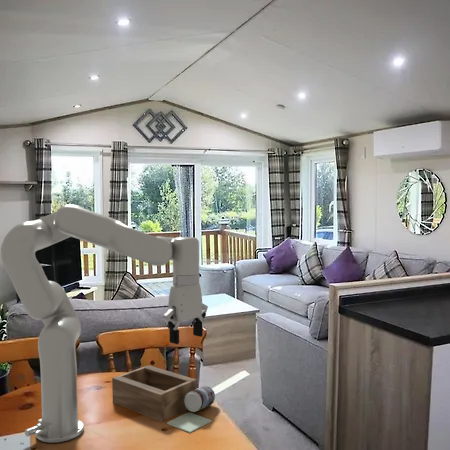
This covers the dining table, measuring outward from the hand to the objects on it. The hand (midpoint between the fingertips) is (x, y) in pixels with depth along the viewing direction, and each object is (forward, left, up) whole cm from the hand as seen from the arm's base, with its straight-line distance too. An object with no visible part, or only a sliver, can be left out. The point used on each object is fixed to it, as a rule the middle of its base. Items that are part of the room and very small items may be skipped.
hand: (186, 339), depth 138 cm
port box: (+3, +17, -24) cm, 30 cm away
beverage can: (+2, +1, -20) cm, 20 cm away
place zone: (0, -1, -24) cm, 24 cm away
